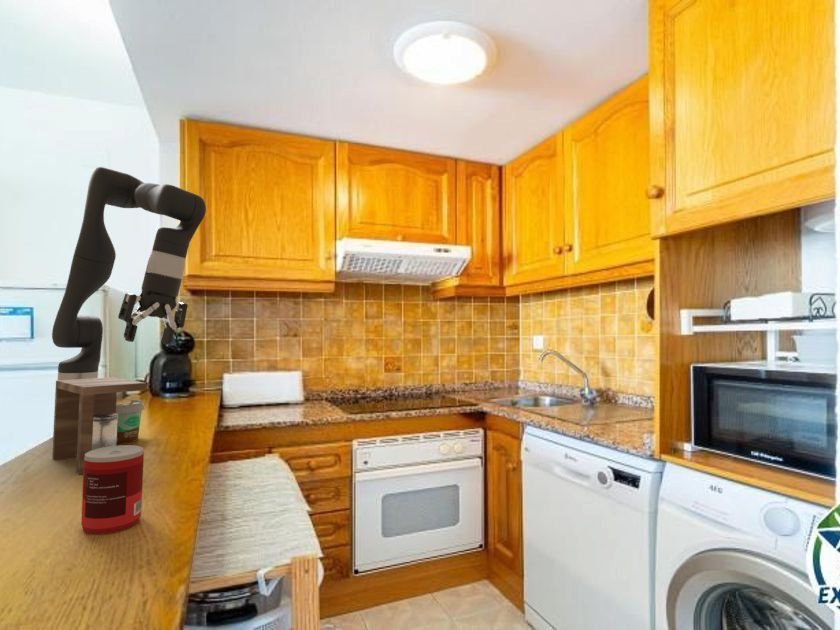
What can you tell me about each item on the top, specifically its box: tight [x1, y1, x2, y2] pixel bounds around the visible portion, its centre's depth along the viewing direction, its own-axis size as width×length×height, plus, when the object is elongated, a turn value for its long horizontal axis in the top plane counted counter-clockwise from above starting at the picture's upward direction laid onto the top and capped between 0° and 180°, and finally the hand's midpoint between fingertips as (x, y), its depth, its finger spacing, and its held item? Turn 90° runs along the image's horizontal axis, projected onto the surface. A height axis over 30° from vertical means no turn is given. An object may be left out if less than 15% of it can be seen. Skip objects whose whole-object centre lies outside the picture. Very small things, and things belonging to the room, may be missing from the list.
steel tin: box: [92, 413, 118, 450], centre depth 106 cm, size 5×5×10 cm
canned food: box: [80, 444, 145, 535], centre depth 71 cm, size 8×8×11 cm
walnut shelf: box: [51, 376, 148, 475], centre depth 105 cm, size 18×12×18 cm, turn 52°
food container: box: [116, 399, 145, 445], centre depth 124 cm, size 12×6×10 cm, turn 179°
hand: (147, 342), depth 107 cm, fingers open, 8 cm apart
